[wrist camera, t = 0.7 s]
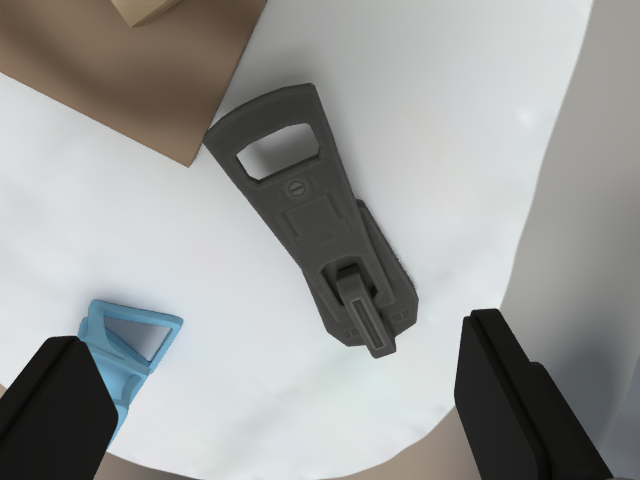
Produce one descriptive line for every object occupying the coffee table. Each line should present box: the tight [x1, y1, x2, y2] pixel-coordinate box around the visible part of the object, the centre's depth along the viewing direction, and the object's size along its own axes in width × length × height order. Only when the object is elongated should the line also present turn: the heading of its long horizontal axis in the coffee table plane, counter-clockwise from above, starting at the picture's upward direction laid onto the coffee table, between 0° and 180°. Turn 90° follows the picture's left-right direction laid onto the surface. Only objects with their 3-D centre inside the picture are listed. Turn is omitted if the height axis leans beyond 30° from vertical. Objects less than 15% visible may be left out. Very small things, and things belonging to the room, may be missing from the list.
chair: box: [77, 300, 183, 449], centre depth 36 cm, size 8×8×12 cm
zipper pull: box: [203, 83, 419, 359], centre depth 34 cm, size 9×7×25 cm
